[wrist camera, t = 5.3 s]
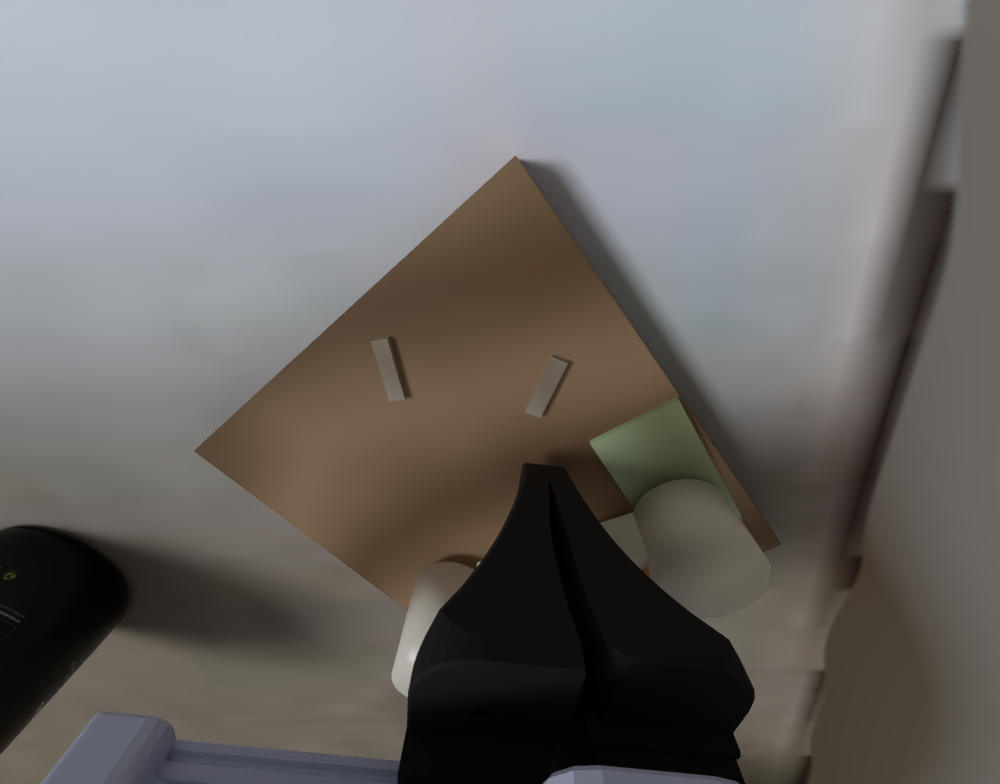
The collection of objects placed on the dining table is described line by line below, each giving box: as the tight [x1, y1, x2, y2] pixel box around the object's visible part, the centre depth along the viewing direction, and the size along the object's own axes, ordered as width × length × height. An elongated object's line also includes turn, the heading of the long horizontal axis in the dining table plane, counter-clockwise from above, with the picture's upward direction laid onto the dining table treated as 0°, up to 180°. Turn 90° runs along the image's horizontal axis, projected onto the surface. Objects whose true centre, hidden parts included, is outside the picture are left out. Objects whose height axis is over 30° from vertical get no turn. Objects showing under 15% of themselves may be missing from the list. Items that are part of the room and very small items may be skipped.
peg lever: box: [392, 479, 772, 697], centre depth 13 cm, size 12×3×3 cm, turn 116°
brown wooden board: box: [195, 156, 781, 611], centre depth 15 cm, size 16×14×1 cm
